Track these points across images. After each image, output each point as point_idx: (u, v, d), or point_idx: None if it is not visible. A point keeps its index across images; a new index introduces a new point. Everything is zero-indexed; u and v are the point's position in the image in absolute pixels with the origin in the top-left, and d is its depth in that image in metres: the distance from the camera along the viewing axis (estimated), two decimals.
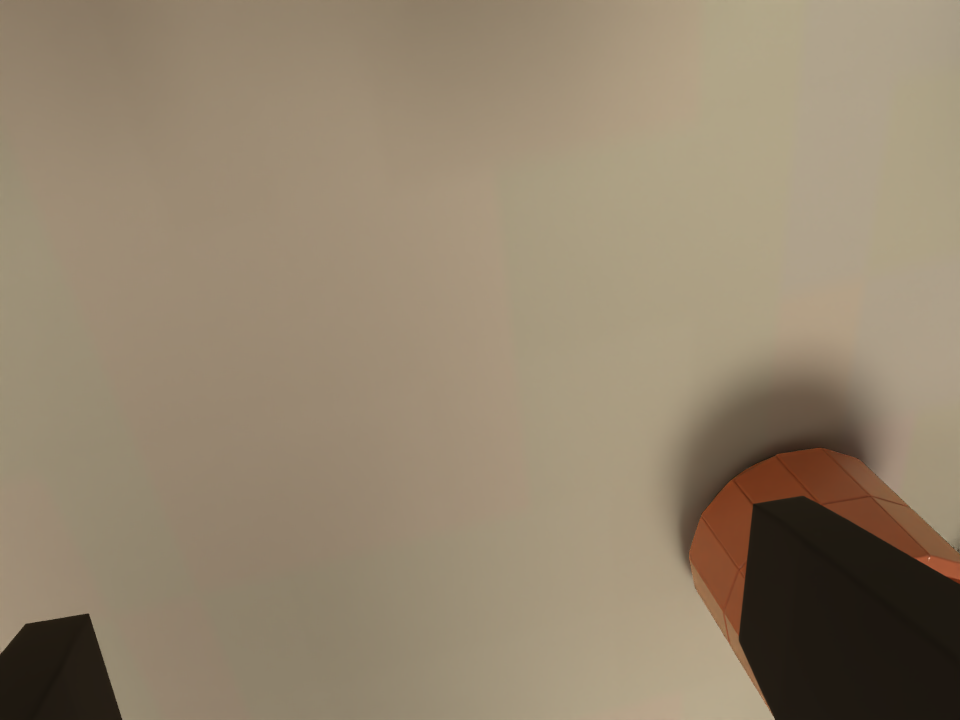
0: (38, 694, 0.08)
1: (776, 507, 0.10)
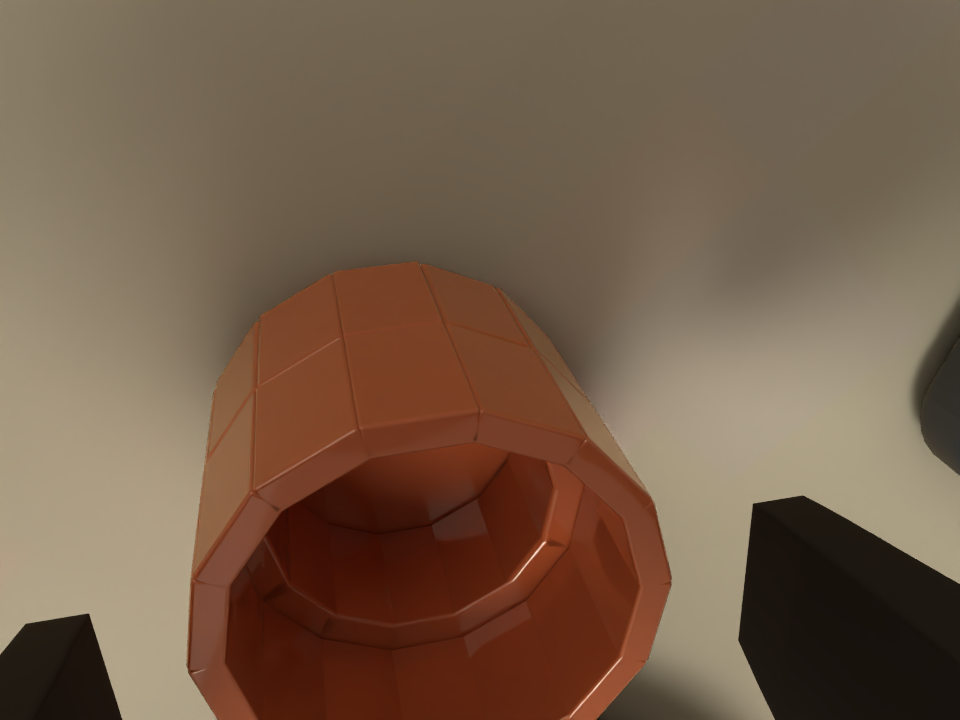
0: (38, 693, 0.08)
1: (776, 508, 0.10)
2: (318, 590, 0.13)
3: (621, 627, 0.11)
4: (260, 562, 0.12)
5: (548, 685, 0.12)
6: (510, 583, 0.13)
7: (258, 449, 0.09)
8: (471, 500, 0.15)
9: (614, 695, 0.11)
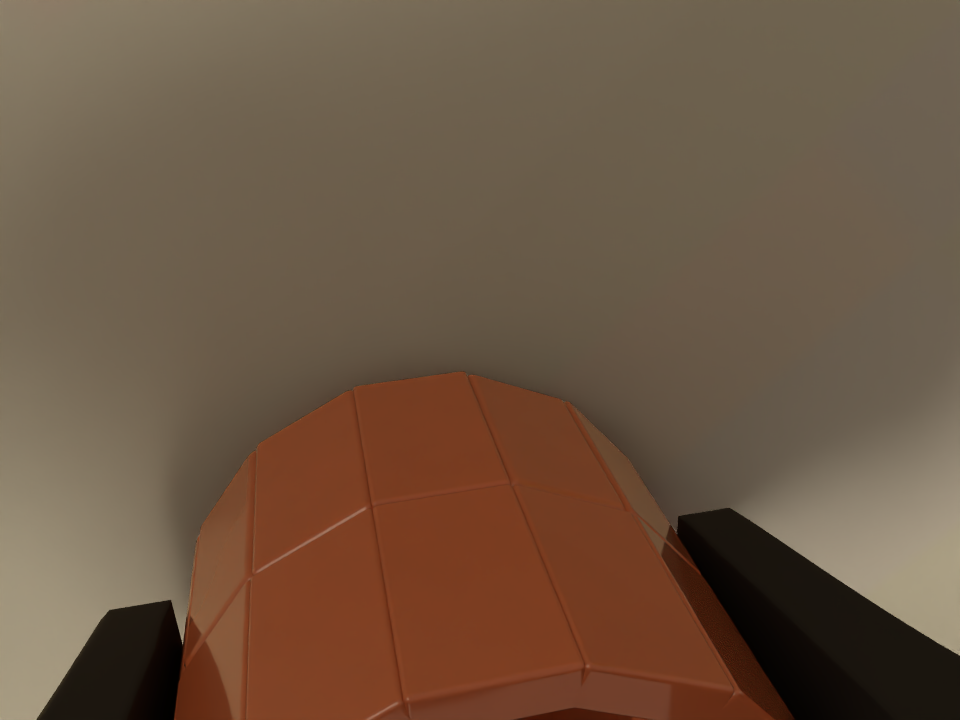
0: (135, 678, 0.08)
1: (701, 519, 0.10)
2: None
3: None
4: None
5: None
6: None
7: (251, 703, 0.06)
8: None
9: None
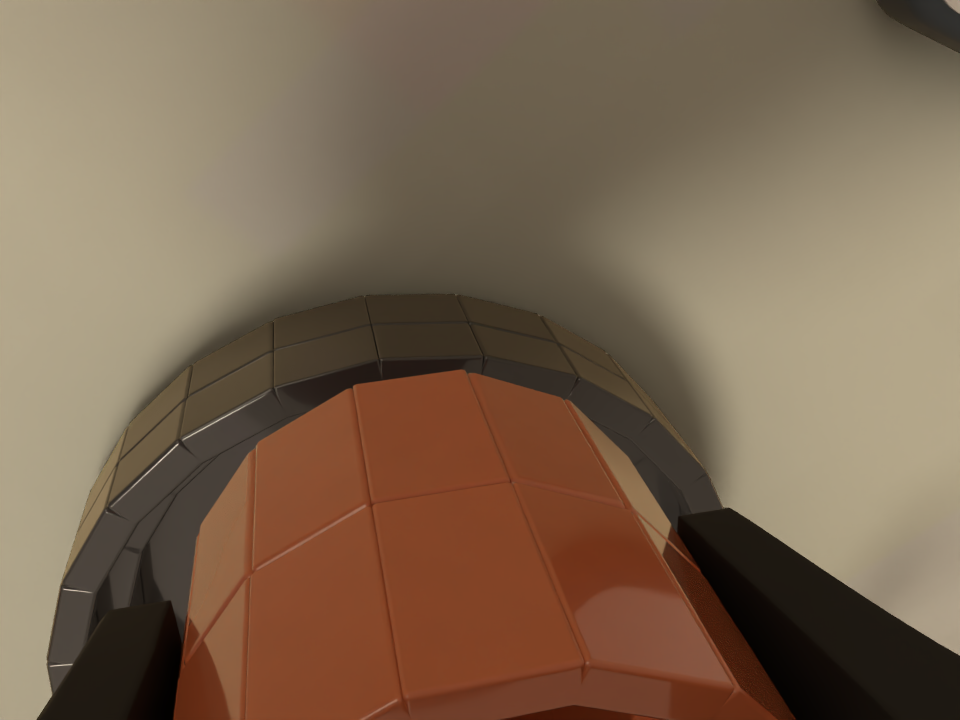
0: (136, 677, 0.08)
1: (701, 519, 0.10)
2: None
3: None
4: None
5: None
6: None
7: (251, 701, 0.06)
8: None
9: None
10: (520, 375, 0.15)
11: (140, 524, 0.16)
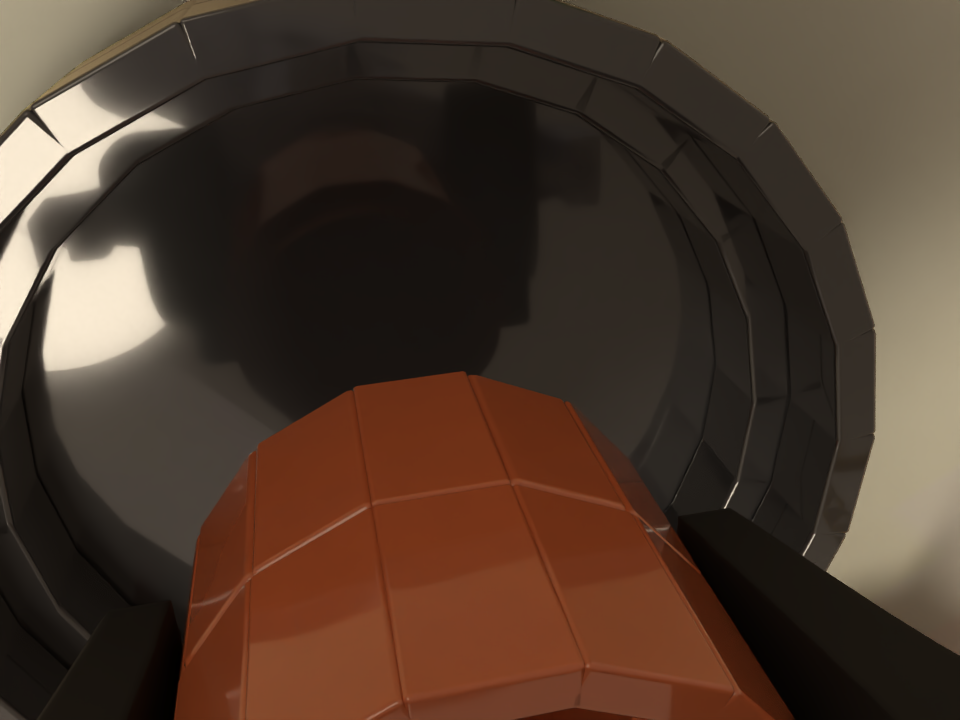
0: (136, 677, 0.08)
1: (701, 519, 0.10)
2: None
3: None
4: None
5: None
6: None
7: (252, 704, 0.06)
8: None
9: None
10: (573, 27, 0.09)
11: (0, 298, 0.11)
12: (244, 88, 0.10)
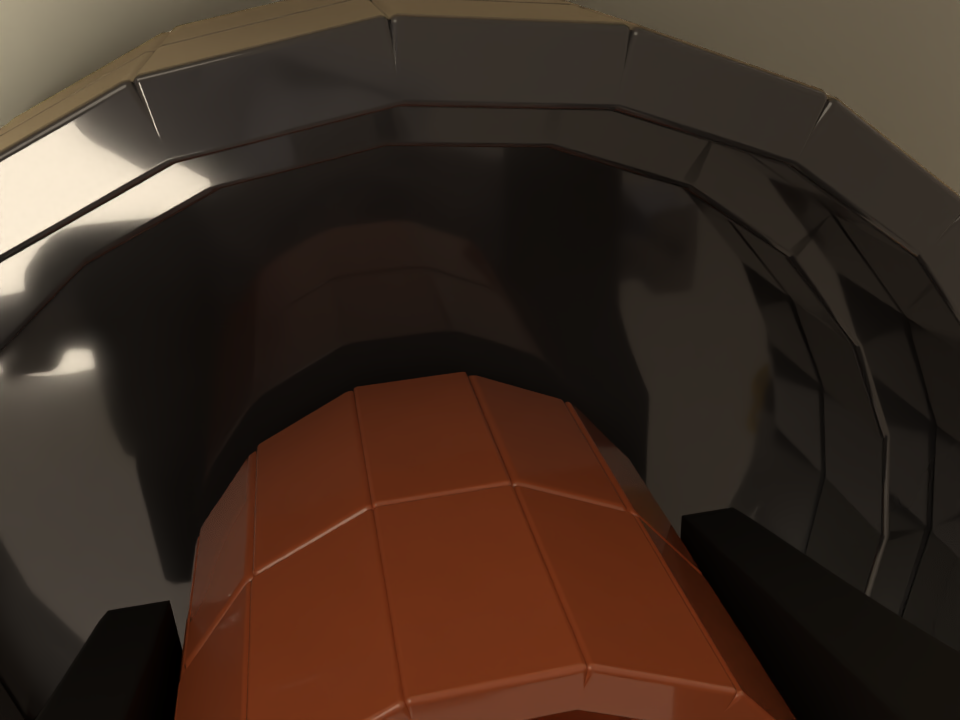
0: (133, 678, 0.08)
1: (703, 519, 0.10)
2: None
3: None
4: None
5: None
6: None
7: (252, 706, 0.06)
8: None
9: None
10: (709, 82, 0.07)
11: None
12: (233, 160, 0.07)
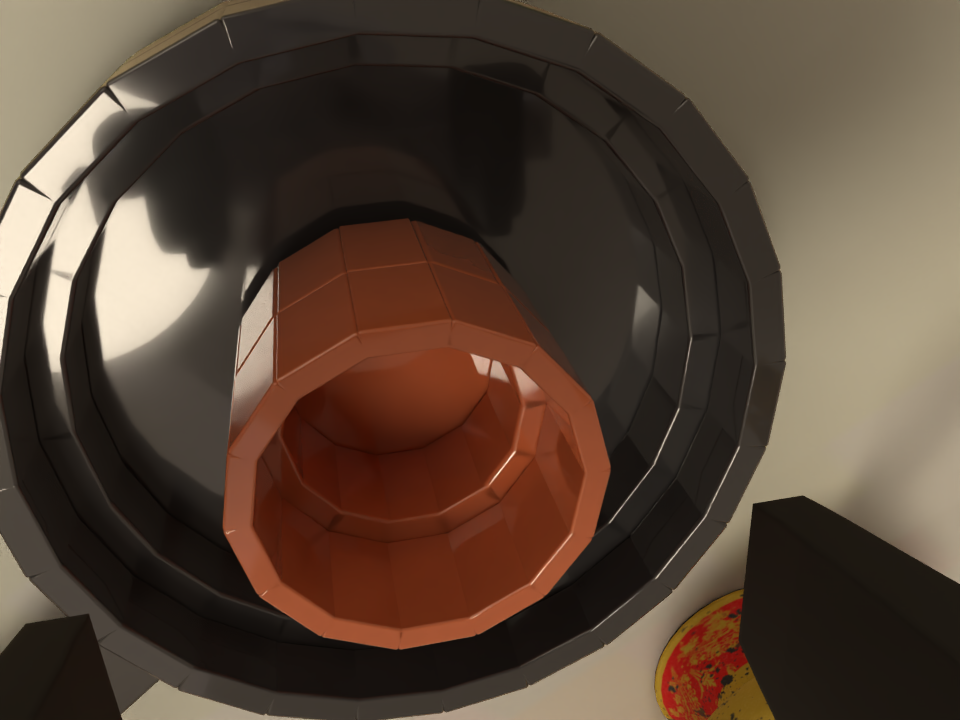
0: (38, 694, 0.08)
1: (776, 507, 0.10)
2: (326, 491, 0.15)
3: (571, 509, 0.13)
4: (278, 463, 0.14)
5: (514, 563, 0.14)
6: (486, 487, 0.15)
7: (279, 354, 0.12)
8: (456, 427, 0.17)
9: (567, 567, 0.14)
10: (525, 23, 0.12)
11: (72, 240, 0.14)
12: (267, 72, 0.13)
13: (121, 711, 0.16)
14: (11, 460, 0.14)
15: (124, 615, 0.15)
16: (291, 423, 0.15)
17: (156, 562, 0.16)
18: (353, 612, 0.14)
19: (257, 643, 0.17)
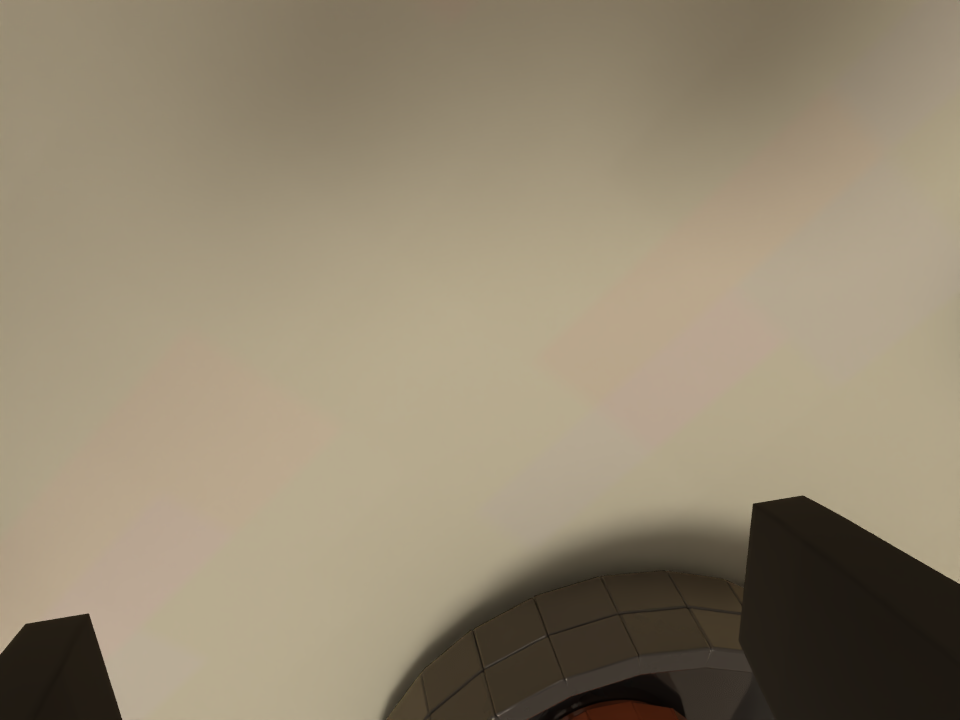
0: (38, 695, 0.08)
1: (776, 507, 0.10)
2: None
3: None
4: None
5: None
6: None
7: None
8: None
9: None
10: (735, 658, 0.20)
11: None
12: None
13: None
14: None
15: None
16: None
17: None
18: None
19: None
